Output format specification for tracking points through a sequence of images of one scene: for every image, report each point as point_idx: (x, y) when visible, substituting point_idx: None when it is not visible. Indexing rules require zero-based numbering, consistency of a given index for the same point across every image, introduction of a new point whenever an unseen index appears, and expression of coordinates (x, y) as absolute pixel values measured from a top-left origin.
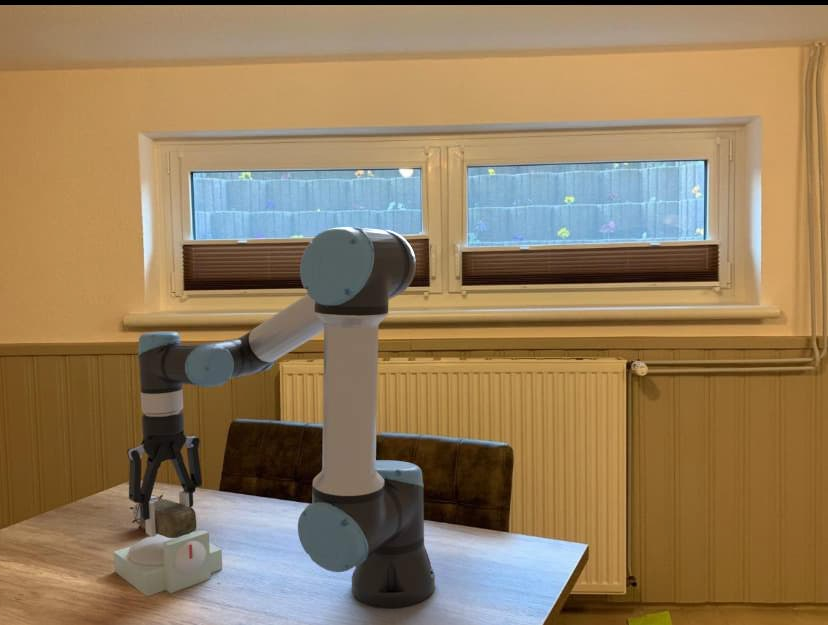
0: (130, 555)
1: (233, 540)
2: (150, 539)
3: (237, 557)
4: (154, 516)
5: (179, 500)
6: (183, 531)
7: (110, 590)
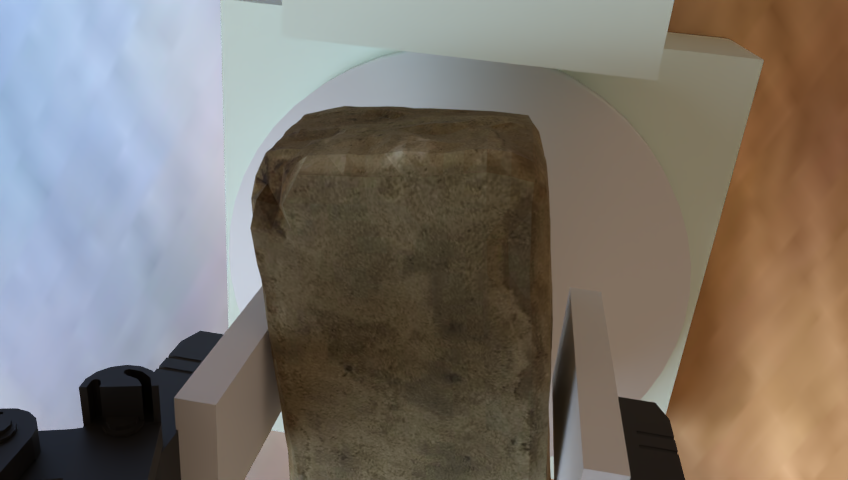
0: (673, 343)
1: (62, 250)
2: None
3: (137, 52)
4: (578, 376)
5: (255, 455)
6: (435, 111)
7: (777, 269)
